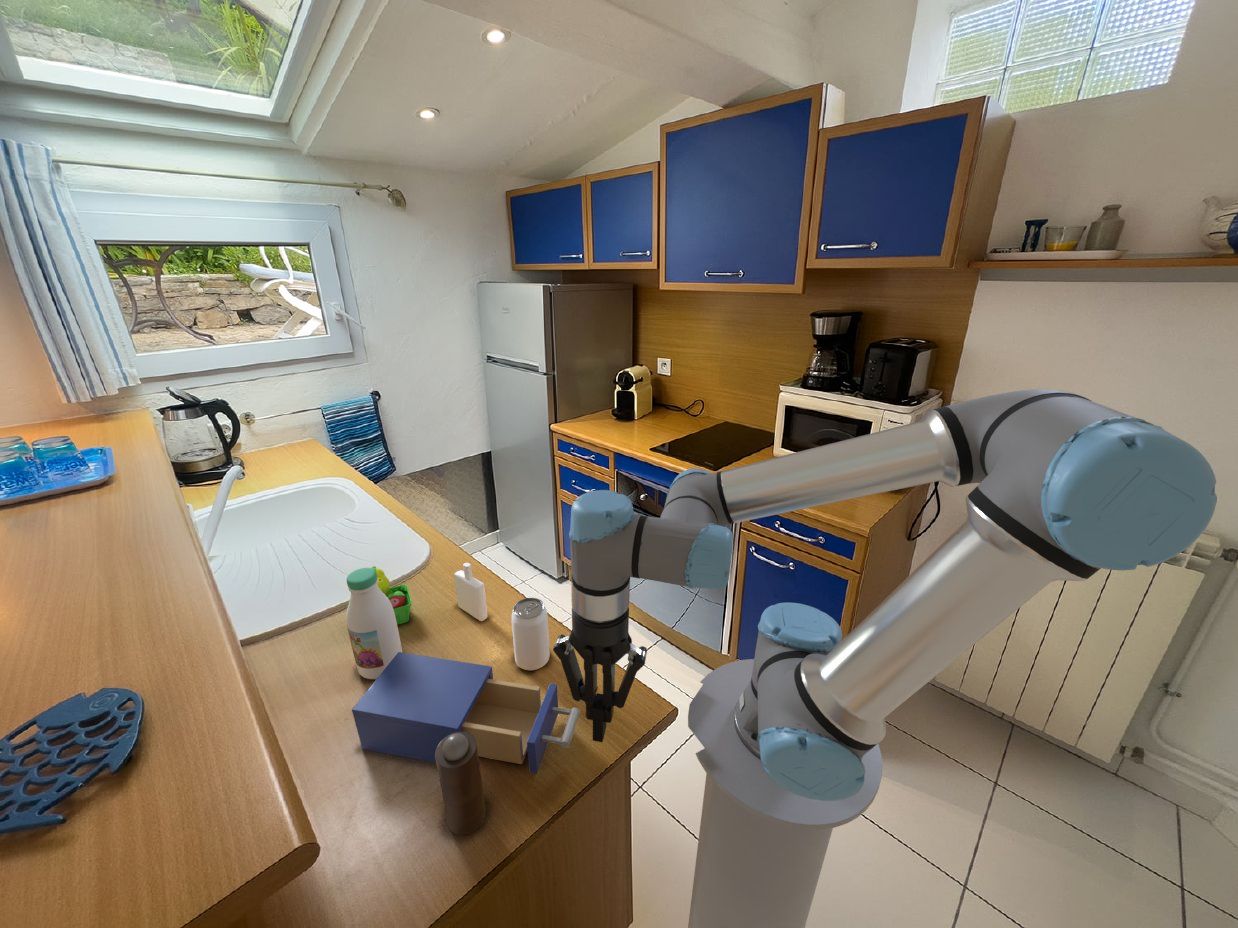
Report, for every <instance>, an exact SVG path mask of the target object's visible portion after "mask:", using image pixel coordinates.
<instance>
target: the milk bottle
mask: <svg viewBox="0 0 1238 928" xmlns="http://www.w3.org/2000/svg"><path fill="white" fill-rule="evenodd" d="M346 584H347V587H348V589H347V590H348V591H349V592H350V598H349V600H350V602H349V605H348V604H347V608H346V612H345V613H346V614H345V622H346V623H345V624H346V628H347V634H348V637H349V641H350V645H351V649H352V654H353V658H354V661H355V666H356V669H357V672H358V674H359V675H360V676H361V677H363V678H364V679H367V680H376V679H377V678H378V677H379V675H380V674H381V673H382V672H383V671H384V669H385V668H386V667H387V666H388V664H389V663H390V662H391V661H392V659H393V658H394V657H395V656H396V654H397V653H398V652H402V653H404V652H403V647H402V641H401V637H400V631H399V628H398V625H397V622H396V618H395V613H394V610H393V607H392V604H391V602H390V600H389V599H388V598H387V597H386V595H385V594H384V593H383V592H382V591H381V590H380V589H379V587H378V585H377V584H378V579H377V574H376V571H375V570H374V569H372V567H361V568H357V569H355V570H353V571H352V572H350V573H348V575H347V576H346Z"/></svg>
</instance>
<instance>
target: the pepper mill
mask: <svg viewBox="0 0 1238 928" xmlns="http://www.w3.org/2000/svg"><path fill="white" fill-rule="evenodd" d="M435 760H436V763H435V766H436V769H437V775H438V780H439V785H440V790H441V791H440V792H441V796H442V801H443V807H444V812H445V816H446V822H447V827H448V829H449V831H450V832H451V833H453V834H454V835H455V836H462V837H463V836H468V835H470V834H472V833H474V832H475V831H477V830H478V829H479V828H480V827H481V826H482V824H483V823H484V821H485V818H486V814H487V808H486V801H485V794H484V786H483V780H482V773H481V765H480V756H478V750H477V743H476V740H475V738H474V737H473V736H472V735H471V734H470V733H467V732H455V733H452V734H450V735H448V736H447V737H445V738H444V739H443V740H442V741H441V742H440V743H439V745H438V746H437V748H436V751H435Z"/></svg>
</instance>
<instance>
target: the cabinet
mask: <svg viewBox="0 0 1238 928" xmlns="http://www.w3.org/2000/svg"><path fill="white" fill-rule="evenodd" d="M402 652H403V651H402ZM402 652H398V653H397V654H396V656H395V657H394V658H393V659H392V661H391V662H390V663H389V664H388V666H387V667H386V668H385V669H384V671H383V672H382V673H381V674H380V675H379V677H378V678H377V679H374V682H372V684H371V685H370V686H369V688H368V689H367V690H366V691H365V693H364V694H363V695H362V696H361V698H360V699H358V701H357V703H355V704H354V706H353V707H352V708H351V712H352V717H353V719H354V723H355V727H356V731H357V735H358V738H359V743H360V746H361V749H362V750H366V751H371V752H376V753H381V754H385V755H391V756H397V757H401V758H407V759H411V760H417V761H423V762H428V763H432V764H436V760H435V751H436V748H437V746H438V745H439V743H440V742H441V741H442V740H443V739H444V738H445V737H447V736H448V735H450V734H452V733H455V732H461V727H462V725H463V723H464V722H465V720H466V718H467V716H468V714H469V712H470V711H471V709H472V707H473V705H474V703H475V701H476V700H477V698H478V696H479V694H480V692H481V690H482V689H483V687H484V685H485V683H486V681H487V679H494V673H493V666H491V665H484V664H477V663H472V662H465V661H458V660H453V659H445V658H440V657H434V656H427V655H421V654H415V653H407V652H403V653H402Z"/></svg>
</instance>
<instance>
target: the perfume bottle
mask: <svg viewBox="0 0 1238 928" xmlns="http://www.w3.org/2000/svg"><path fill="white" fill-rule="evenodd" d="M462 566H463V570H462V569H459V570H457V571H456V572H455V573H454V574H453V578H454V586H455V592H456V593H455V594H456V600H457V606H458V608H460V609H461V610H462V611H464V612H466V613H467V614H469V615H470V616H472V617H473V618H474V619H476V620H478V621H479V622H483V621H486V619H488V616H489V615H488V607H487V598H486V589H485V583H484V582H482V581H480V580H479V579H478V578H476V577H474V576H473V571H472V564H471V563H470V562H464V563H463V564H462Z"/></svg>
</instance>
